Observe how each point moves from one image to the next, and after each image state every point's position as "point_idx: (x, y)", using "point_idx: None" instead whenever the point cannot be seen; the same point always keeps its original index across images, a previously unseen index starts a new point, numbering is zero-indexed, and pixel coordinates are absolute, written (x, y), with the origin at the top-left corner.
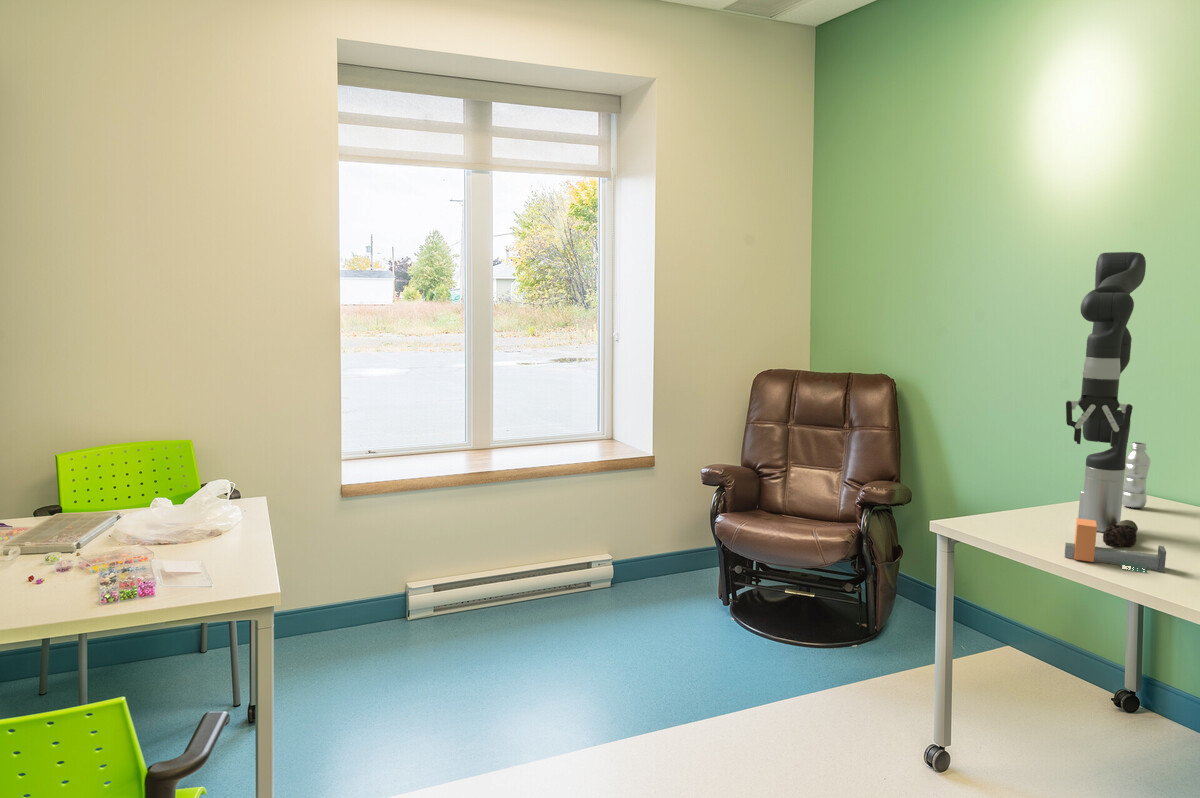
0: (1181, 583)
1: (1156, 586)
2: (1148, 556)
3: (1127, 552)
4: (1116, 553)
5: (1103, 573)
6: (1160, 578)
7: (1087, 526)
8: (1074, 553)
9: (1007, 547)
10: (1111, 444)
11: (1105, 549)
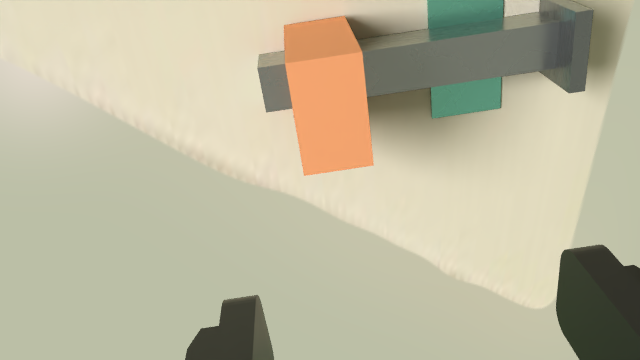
0: (575, 147)
1: (507, 215)
2: (522, 70)
3: (460, 62)
4: (425, 86)
5: (384, 189)
6: (528, 136)
7: (340, 168)
8: None
9: (79, 95)
10: (571, 339)
11: (391, 72)
